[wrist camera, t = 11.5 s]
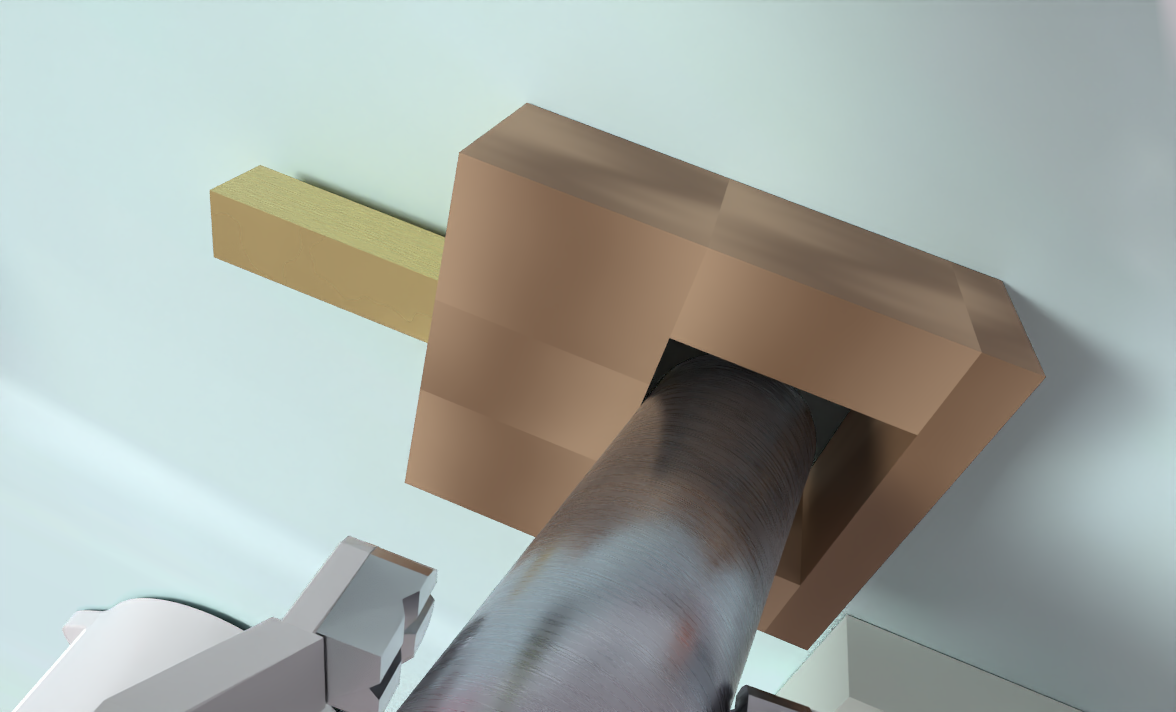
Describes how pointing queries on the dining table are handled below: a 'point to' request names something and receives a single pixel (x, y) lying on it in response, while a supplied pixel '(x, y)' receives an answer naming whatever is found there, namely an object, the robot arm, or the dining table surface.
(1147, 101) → the dining table surface
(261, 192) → the tan wooden bar
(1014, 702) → the white square frame
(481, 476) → the socket block
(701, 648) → the grey cylinder
